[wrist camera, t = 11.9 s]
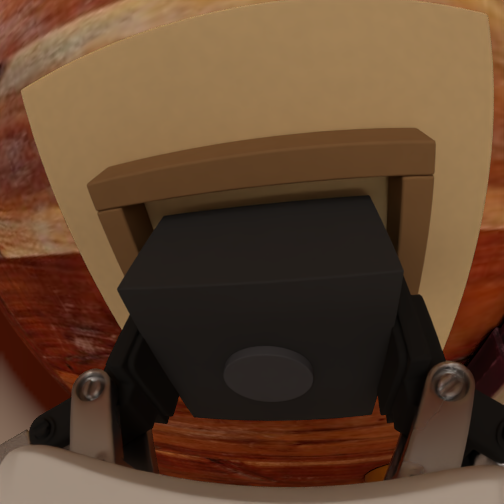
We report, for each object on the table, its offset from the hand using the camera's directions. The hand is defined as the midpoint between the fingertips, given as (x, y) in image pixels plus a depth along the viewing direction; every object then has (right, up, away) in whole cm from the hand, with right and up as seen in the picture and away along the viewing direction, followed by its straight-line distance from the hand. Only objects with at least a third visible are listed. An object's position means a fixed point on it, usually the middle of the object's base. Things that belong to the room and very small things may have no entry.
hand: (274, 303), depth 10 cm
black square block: (0, 0, +1) cm, 1 cm away
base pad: (0, +1, +2) cm, 2 cm away
